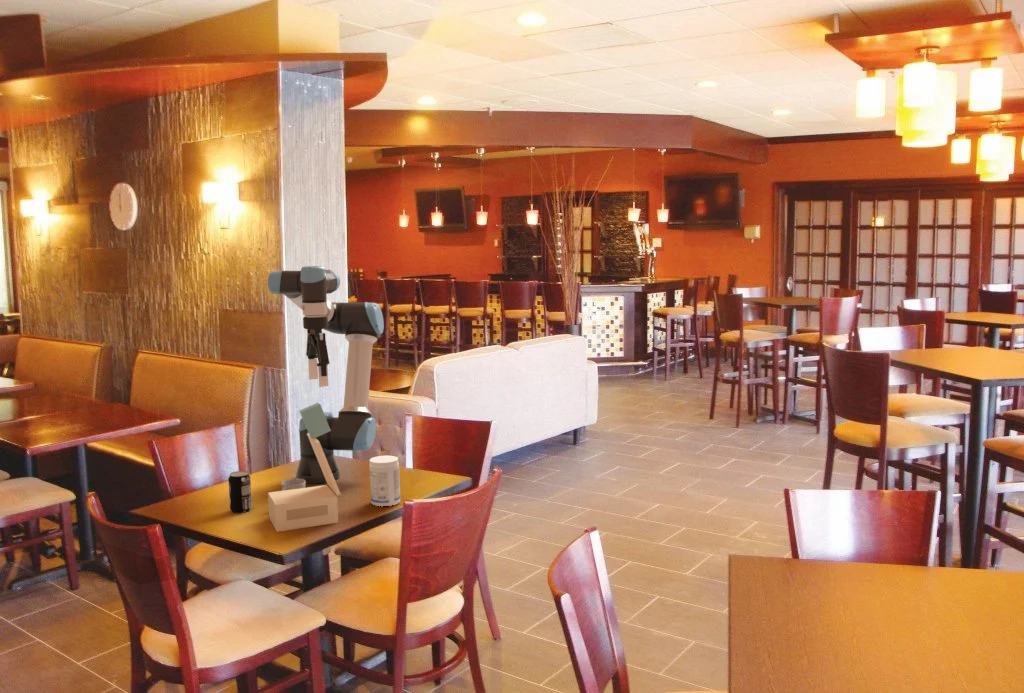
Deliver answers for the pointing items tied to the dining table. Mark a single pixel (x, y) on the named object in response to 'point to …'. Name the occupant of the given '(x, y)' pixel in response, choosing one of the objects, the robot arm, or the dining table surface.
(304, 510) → the carton
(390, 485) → the supplement tub
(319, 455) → the flap
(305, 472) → the robot arm
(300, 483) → the cup
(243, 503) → the beverage can
